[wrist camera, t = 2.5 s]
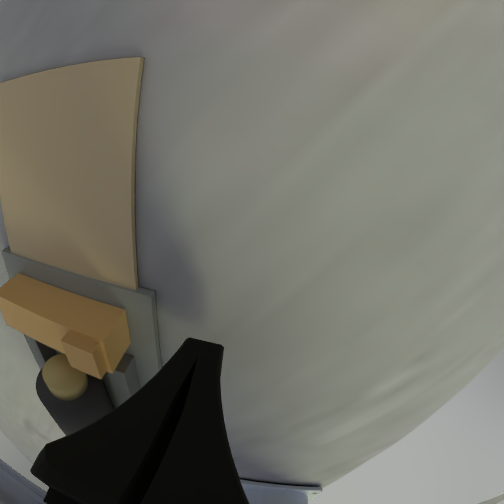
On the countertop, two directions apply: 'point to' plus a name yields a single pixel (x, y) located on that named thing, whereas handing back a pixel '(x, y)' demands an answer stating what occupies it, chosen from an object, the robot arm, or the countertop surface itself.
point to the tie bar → (67, 323)
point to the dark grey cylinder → (71, 395)
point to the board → (79, 198)
